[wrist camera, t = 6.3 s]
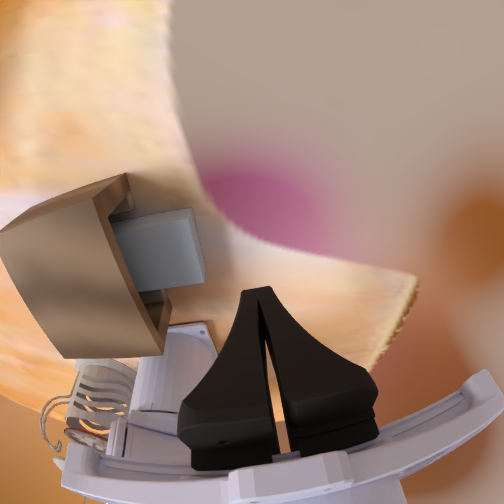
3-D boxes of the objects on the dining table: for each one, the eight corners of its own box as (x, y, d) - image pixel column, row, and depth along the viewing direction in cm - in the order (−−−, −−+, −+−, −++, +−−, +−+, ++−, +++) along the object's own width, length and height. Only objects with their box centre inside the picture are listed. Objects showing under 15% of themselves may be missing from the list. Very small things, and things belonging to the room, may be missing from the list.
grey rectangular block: (205, 264, 21) (204, 282, 19) (126, 276, 21) (118, 294, 19) (192, 205, 19) (188, 219, 17) (106, 223, 19) (94, 237, 17)
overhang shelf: (172, 307, 23) (163, 355, 18) (83, 317, 23) (64, 358, 18) (125, 172, 17) (92, 198, 12) (30, 207, 17) (-9, 237, 12)
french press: (142, 405, 31) (131, 564, 10) (67, 379, 28) (33, 531, 7) (149, 370, 27) (134, 579, 6) (58, 338, 24) (3, 529, 2)
